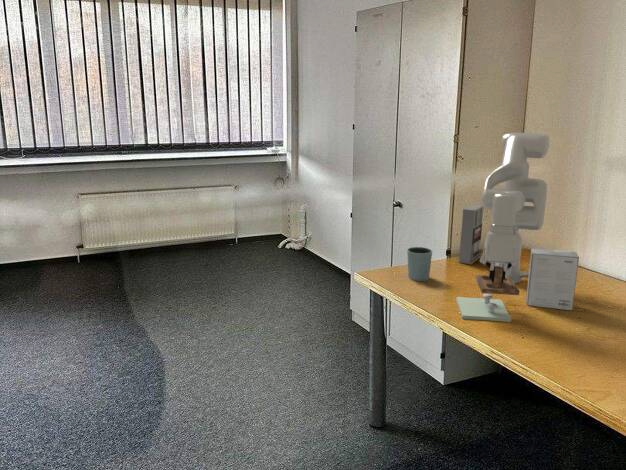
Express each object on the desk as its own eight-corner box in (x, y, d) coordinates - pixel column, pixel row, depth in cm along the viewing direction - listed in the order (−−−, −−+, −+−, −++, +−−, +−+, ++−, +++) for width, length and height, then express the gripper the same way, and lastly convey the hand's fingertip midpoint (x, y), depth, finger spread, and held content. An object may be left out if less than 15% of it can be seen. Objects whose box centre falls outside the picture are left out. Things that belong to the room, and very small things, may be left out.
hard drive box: (570, 304, 202) (577, 251, 197) (572, 311, 195) (580, 257, 190) (525, 298, 207) (531, 247, 202) (526, 305, 200) (532, 252, 195)
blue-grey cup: (432, 281, 224) (434, 253, 221) (407, 281, 225) (409, 253, 222) (427, 274, 234) (429, 246, 231) (404, 273, 234) (405, 246, 231)
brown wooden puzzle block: (509, 280, 199) (511, 262, 197) (519, 295, 183) (521, 275, 182) (475, 278, 200) (476, 260, 199) (482, 292, 185) (483, 273, 183)
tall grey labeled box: (471, 265, 248) (476, 210, 242) (458, 262, 251) (462, 209, 245) (480, 258, 259) (485, 205, 253) (468, 255, 262) (472, 204, 256)
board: (500, 302, 203) (501, 292, 202) (510, 321, 185) (512, 310, 184) (456, 299, 205) (457, 289, 204) (462, 318, 187) (463, 307, 186)
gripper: (523, 228, 190) (518, 279, 194) (475, 225, 192) (471, 276, 196) (529, 233, 182) (523, 285, 187) (479, 230, 184) (474, 282, 189)
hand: (496, 280), depth 191 cm, fingers closed on brown wooden puzzle block, 2 cm apart
